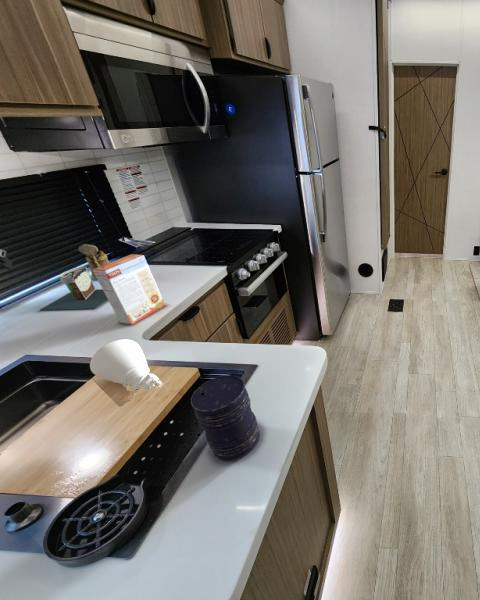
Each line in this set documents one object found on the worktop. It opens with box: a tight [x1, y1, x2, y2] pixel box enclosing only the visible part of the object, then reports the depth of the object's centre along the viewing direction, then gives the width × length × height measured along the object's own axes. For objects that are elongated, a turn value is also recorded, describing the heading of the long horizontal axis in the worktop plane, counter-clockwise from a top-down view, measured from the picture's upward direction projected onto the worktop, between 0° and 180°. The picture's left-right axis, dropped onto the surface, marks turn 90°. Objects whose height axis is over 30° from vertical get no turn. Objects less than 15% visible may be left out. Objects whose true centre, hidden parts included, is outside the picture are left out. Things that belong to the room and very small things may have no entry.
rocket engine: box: [89, 338, 164, 394], centre depth 87 cm, size 12×12×18 cm
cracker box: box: [93, 253, 166, 325], centre depth 116 cm, size 14×6×21 cm, turn 165°
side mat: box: [39, 288, 109, 312], centre depth 131 cm, size 20×16×1 cm
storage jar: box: [190, 375, 261, 462], centre depth 69 cm, size 10×10×15 cm
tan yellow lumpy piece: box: [77, 243, 111, 281], centre depth 145 cm, size 9×14×18 cm, turn 33°
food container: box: [59, 266, 97, 300], centre depth 131 cm, size 12×6×10 cm, turn 20°
